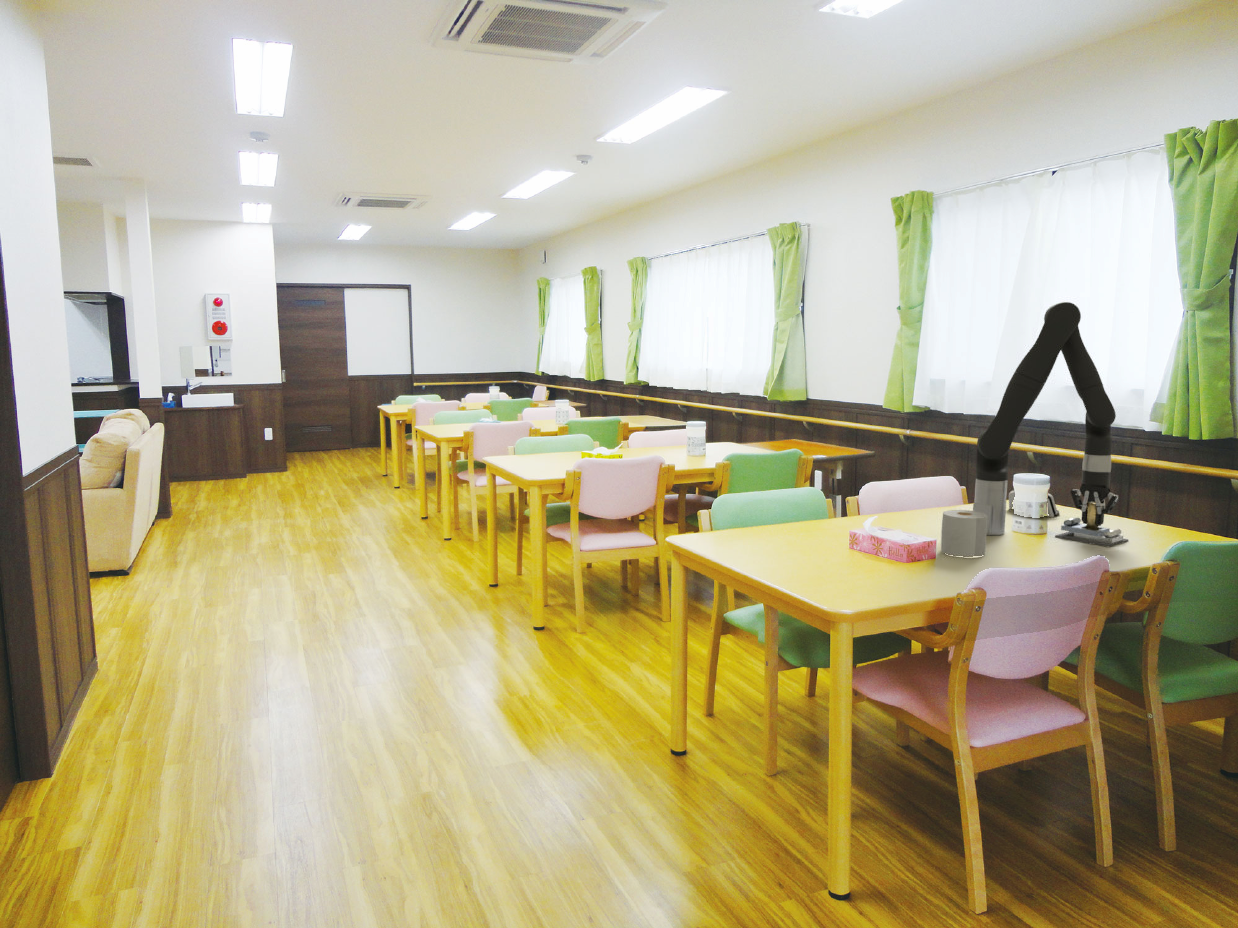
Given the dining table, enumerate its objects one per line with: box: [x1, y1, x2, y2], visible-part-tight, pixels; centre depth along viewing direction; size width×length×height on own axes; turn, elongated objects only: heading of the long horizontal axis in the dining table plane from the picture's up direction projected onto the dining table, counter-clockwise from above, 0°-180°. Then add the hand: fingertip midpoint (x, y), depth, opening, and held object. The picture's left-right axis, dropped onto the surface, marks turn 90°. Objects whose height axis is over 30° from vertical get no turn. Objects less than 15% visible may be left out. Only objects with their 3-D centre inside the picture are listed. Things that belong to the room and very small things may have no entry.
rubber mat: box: [1054, 531, 1129, 548], centre depth 251 cm, size 12×16×1 cm
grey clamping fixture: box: [1060, 516, 1124, 544], centre depth 251 cm, size 7×15×5 cm, turn 35°
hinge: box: [1008, 489, 1061, 518], centre depth 290 cm, size 17×5×10 cm, turn 29°
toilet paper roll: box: [940, 509, 988, 557], centre depth 236 cm, size 12×12×12 cm
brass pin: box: [1086, 502, 1099, 530], centre depth 250 cm, size 3×3×9 cm
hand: (1092, 524), depth 251 cm, fingers closed on brass pin, 3 cm apart
